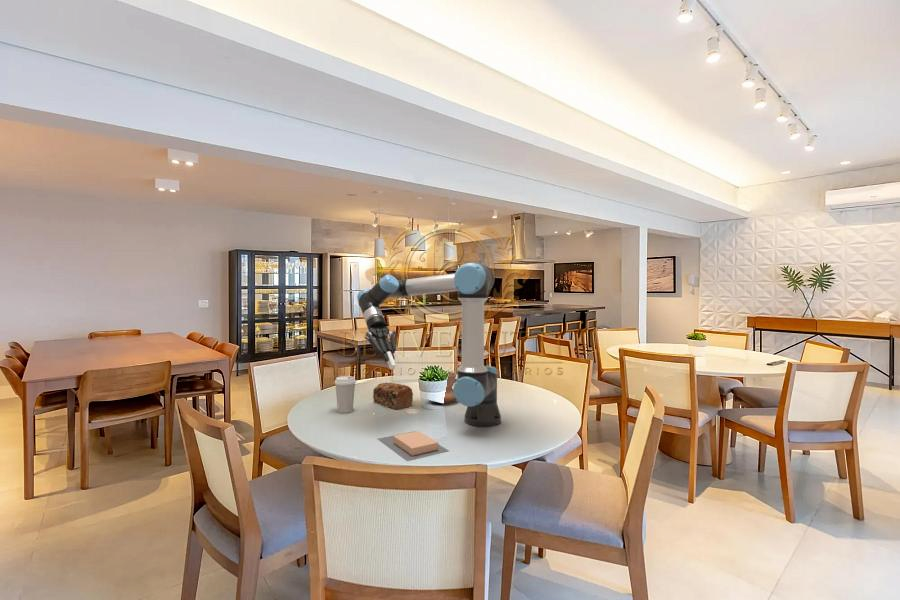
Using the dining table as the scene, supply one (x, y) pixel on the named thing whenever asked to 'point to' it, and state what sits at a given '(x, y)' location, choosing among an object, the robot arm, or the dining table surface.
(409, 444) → the tile
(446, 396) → the ceramic jug
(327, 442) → the dining table surface
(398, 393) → the bread
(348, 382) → the coffee cup
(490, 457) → the dining table surface
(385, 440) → the mat
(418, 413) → the dining table surface
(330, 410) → the dining table surface
